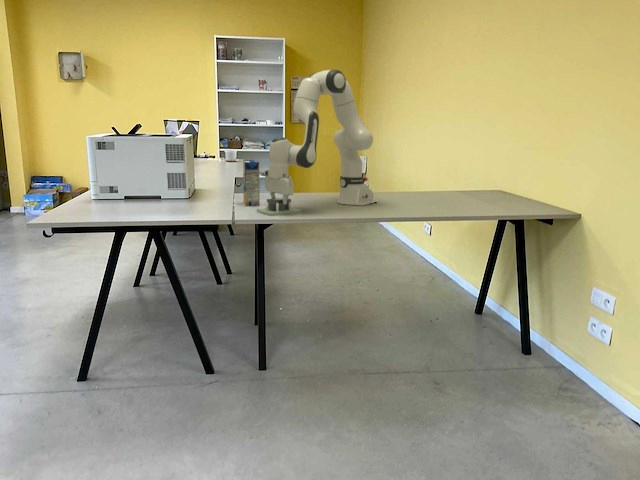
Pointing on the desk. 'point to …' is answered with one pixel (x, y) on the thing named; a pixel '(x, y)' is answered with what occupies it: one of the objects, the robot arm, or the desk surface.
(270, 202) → the block
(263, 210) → the green peg board
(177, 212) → the desk surface
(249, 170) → the beverage box
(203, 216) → the desk surface
